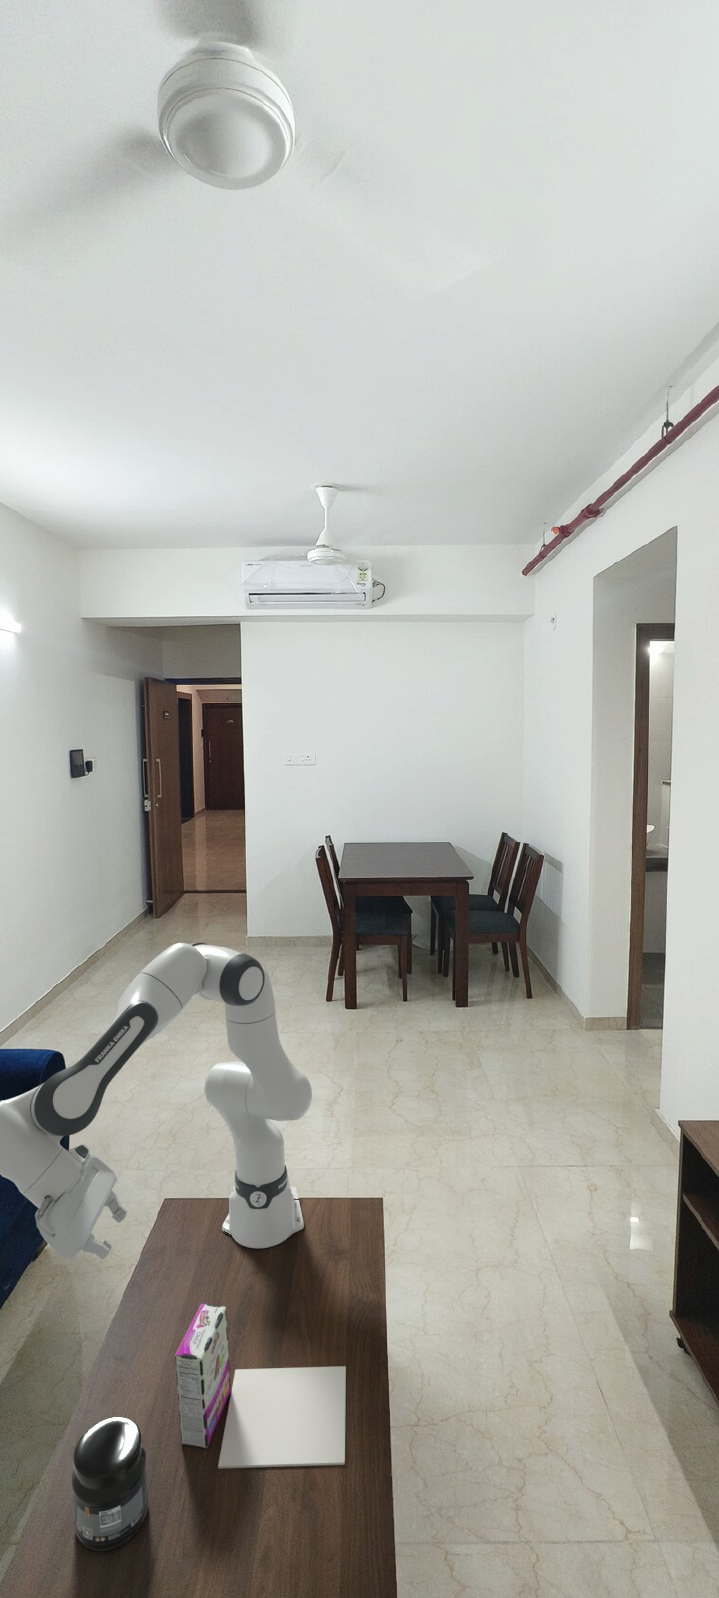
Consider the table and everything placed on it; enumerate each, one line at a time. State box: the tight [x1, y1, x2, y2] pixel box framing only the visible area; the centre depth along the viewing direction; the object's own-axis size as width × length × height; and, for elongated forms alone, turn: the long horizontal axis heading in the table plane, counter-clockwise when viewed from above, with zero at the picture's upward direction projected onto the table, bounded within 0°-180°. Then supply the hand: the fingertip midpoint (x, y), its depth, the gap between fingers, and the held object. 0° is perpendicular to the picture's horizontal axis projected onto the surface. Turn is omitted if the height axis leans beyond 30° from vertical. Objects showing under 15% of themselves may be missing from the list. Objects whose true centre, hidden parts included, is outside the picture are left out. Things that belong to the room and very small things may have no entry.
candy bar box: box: [174, 1303, 232, 1449], centre depth 129 cm, size 11×5×16 cm, turn 169°
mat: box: [217, 1365, 347, 1469], centre depth 130 cm, size 18×20×1 cm
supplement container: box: [70, 1416, 149, 1552], centre depth 114 cm, size 10×10×12 cm
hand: (116, 1235), depth 131 cm, fingers open, 8 cm apart
